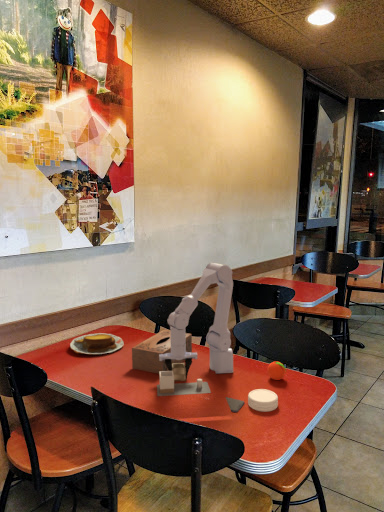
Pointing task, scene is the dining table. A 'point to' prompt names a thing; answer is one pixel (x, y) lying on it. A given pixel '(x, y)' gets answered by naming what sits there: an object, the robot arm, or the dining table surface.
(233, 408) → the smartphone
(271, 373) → the clementine
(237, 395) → the dining table surface
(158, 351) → the tissue box cover
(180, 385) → the pin board
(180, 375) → the birch sleeve
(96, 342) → the food on plate
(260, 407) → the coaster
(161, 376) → the cream square cup
